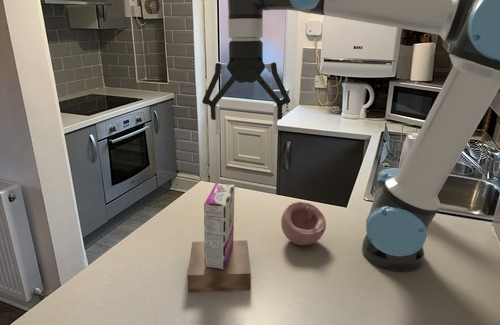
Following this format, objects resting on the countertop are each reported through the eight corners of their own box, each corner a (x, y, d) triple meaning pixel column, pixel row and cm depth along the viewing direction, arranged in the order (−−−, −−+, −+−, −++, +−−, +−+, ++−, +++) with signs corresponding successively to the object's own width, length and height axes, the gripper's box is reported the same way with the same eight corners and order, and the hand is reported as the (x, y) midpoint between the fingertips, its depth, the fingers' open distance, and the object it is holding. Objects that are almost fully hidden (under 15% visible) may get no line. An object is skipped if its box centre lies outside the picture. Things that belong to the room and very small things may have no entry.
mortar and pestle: (296, 258, 98) (298, 218, 94) (272, 237, 108) (273, 200, 104) (333, 247, 103) (336, 209, 99) (307, 227, 113) (309, 192, 110)
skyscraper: (405, 221, 118) (419, 134, 109) (386, 210, 125) (398, 127, 116) (425, 216, 121) (440, 131, 112) (405, 206, 128) (418, 125, 119)
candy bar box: (214, 241, 96) (215, 182, 91) (233, 244, 96) (235, 184, 90) (202, 268, 86) (203, 202, 80) (224, 270, 85) (226, 205, 80)
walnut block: (247, 257, 99) (247, 240, 98) (250, 292, 86) (250, 273, 85) (193, 258, 98) (192, 241, 97) (188, 294, 85) (187, 275, 84)
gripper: (299, 39, 88) (296, 128, 95) (191, 39, 88) (196, 129, 95) (304, 39, 81) (300, 136, 88) (186, 40, 81) (192, 137, 88)
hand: (246, 133), depth 91 cm, fingers open, 13 cm apart
